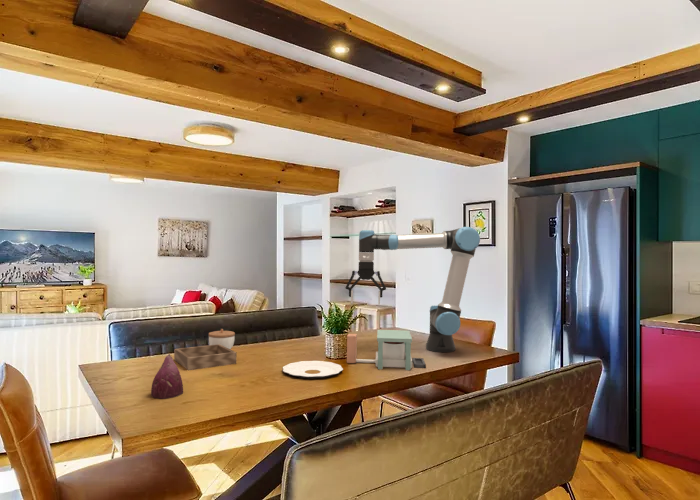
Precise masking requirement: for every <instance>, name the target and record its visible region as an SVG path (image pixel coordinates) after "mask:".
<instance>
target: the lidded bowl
mask: <svg viewBox="0 0 700 500" xmlns="http://www.w3.org/2000/svg"><path fill="white" fill-rule="evenodd" d="M235 335H236V333H235V332H234V331H231V330H224V329H223V328H220V330H214V331H210V332H208V345H216V344H220V345H222V346H224V347H226V348H229V349H231V350H232V348H233V346H234V344H235V338H236V337H235Z"/></svg>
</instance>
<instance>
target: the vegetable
mask: <svg viewBox="0 0 700 500" xmlns="http://www.w3.org/2000/svg"><path fill="white" fill-rule="evenodd" d="M183 393H184V384H183V380H182V375H181V373H180V370H179V368H178V366H177V364H176V363H175V360H174V357H173V356H172V355H171V353H168V354H167V355H166V356H165V358H164V360H163V362H162V364H161V366H160V368H159V369H158V370H157V372H156V374H155V376H154V377H153V380H152V384H151V390H150V396H151V397H152V398H154V399H159V400H166V399H173V398H176V397H179V396H182V395H183Z"/></svg>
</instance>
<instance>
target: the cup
mask: <svg viewBox="0 0 700 500" xmlns="http://www.w3.org/2000/svg"><path fill="white" fill-rule="evenodd" d="M383 359H395V360H405V342H383Z"/></svg>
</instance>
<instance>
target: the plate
mask: <svg viewBox="0 0 700 500" xmlns="http://www.w3.org/2000/svg"><path fill="white" fill-rule="evenodd" d="M343 370H344V368H343V367H342V365H341V364H338V363H335V362H331V361H322V360H303V361H301V360H300V361H296V362H291V363H288V364H286V365H284V366H283V367H282V372H283V373H285V374H288V375H290V376H293V377H295V378H303V379H322V378H328V377H331V376H335V375H337V374H340V373H341V372H343ZM307 371H319V372H318V373H307Z"/></svg>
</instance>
